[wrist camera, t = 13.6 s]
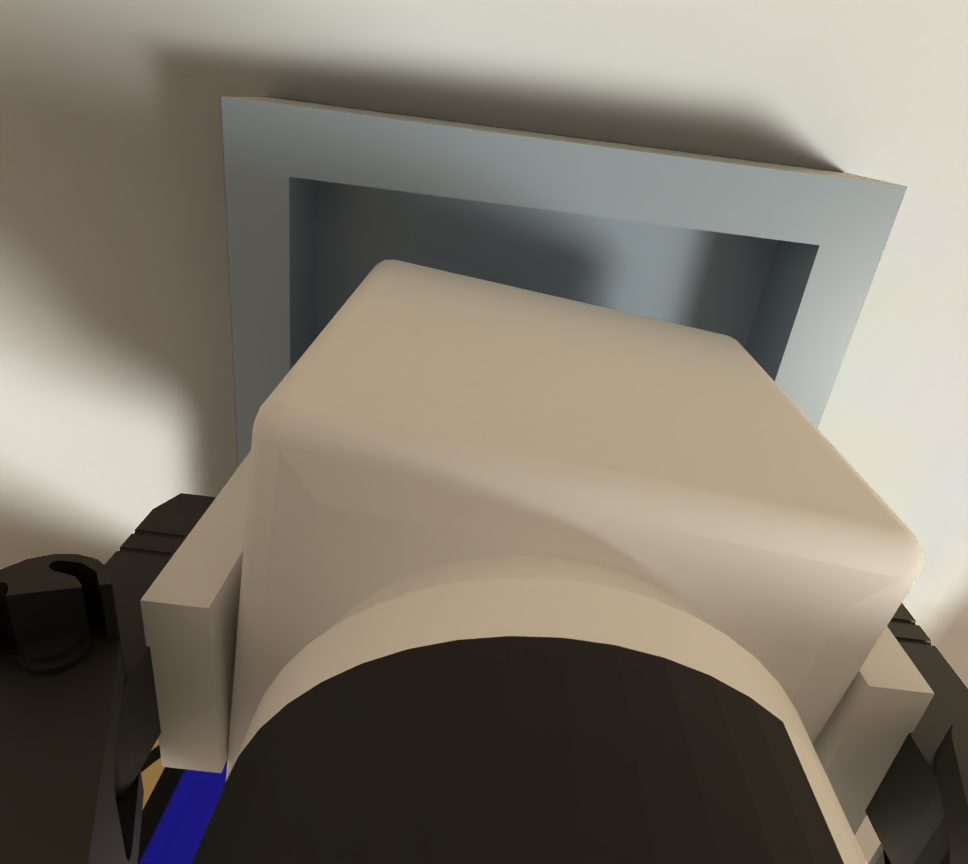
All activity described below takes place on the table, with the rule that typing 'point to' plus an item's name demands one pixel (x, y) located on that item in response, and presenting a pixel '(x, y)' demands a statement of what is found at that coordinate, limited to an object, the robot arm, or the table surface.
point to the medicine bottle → (543, 594)
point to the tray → (538, 234)
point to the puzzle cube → (175, 810)
